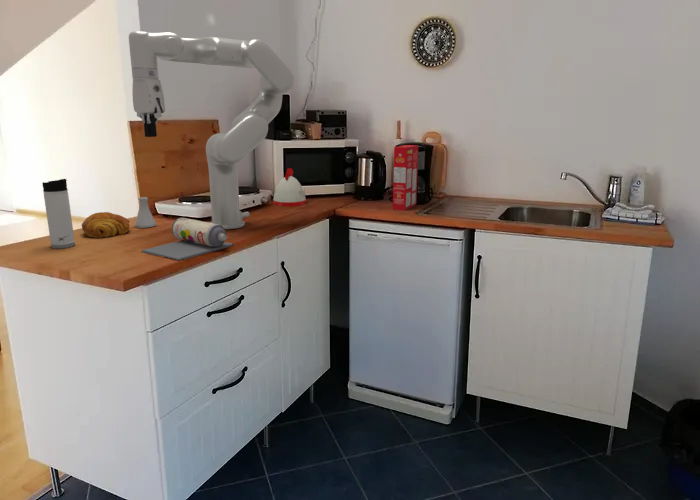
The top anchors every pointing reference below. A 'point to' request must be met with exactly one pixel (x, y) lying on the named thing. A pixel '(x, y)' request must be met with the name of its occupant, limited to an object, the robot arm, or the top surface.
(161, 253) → the mat
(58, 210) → the travel mug
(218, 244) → the aerosol can
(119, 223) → the croissant
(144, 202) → the flask
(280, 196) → the kitchen timer
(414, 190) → the food packaging
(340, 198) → the top surface
